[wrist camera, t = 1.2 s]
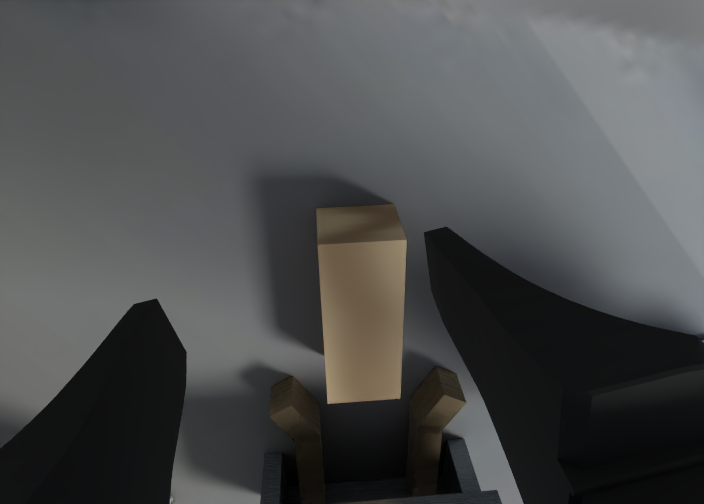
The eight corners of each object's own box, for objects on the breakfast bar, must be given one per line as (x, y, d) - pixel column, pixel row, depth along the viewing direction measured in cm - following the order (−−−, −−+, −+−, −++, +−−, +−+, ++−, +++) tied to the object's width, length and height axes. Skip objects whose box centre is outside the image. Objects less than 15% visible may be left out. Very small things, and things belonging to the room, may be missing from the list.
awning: (474, 363, 32) (513, 458, 26) (457, 482, 38) (485, 581, 32) (252, 378, 31) (238, 480, 25) (271, 498, 37) (264, 602, 31)
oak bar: (393, 202, 26) (406, 239, 23) (390, 349, 31) (400, 398, 28) (316, 206, 26) (317, 244, 22) (325, 353, 31) (327, 403, 27)
